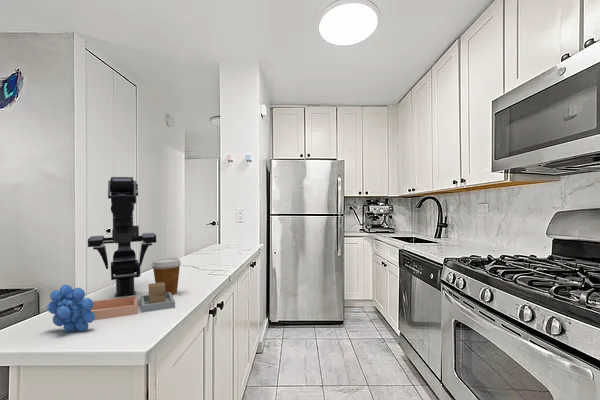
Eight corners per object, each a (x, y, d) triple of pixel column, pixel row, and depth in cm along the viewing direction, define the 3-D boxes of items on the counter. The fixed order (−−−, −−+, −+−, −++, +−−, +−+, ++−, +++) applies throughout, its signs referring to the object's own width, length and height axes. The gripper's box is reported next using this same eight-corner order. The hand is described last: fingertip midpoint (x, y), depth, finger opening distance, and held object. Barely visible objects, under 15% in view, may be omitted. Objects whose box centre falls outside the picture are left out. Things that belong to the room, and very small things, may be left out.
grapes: (35, 340, 83) (33, 289, 83) (55, 329, 90) (54, 282, 90) (83, 339, 83) (82, 288, 83) (100, 329, 90) (99, 281, 90)
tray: (140, 303, 112) (140, 295, 112) (170, 299, 116) (170, 292, 116) (141, 314, 101) (141, 305, 101) (175, 309, 105) (174, 301, 105)
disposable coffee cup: (172, 299, 116) (171, 262, 116) (146, 298, 118) (145, 262, 118) (187, 291, 125) (186, 258, 125) (162, 291, 127) (162, 257, 127)
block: (148, 303, 109) (148, 283, 109) (164, 301, 111) (164, 282, 111) (149, 307, 105) (149, 286, 105) (165, 304, 107) (165, 285, 107)
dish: (81, 312, 104) (81, 302, 104) (136, 305, 110) (136, 295, 110) (76, 324, 93) (76, 313, 93) (137, 315, 100) (137, 305, 100)
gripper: (84, 219, 98) (86, 275, 98) (157, 216, 107) (158, 268, 106) (89, 218, 108) (90, 268, 108) (154, 215, 117) (155, 263, 116)
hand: (124, 267), depth 110 cm, fingers open, 9 cm apart
